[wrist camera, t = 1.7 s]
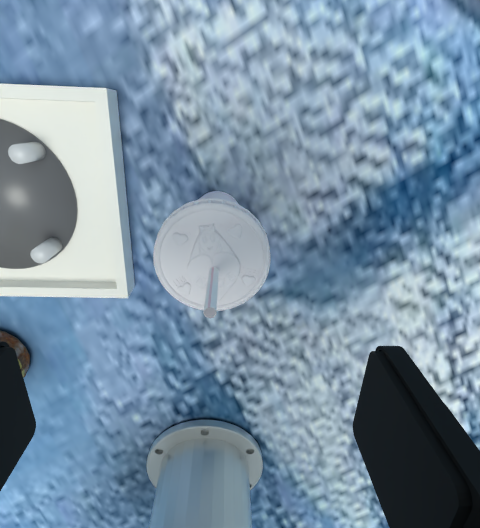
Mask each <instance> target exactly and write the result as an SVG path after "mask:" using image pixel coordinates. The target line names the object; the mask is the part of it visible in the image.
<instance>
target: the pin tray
mask: <svg viewBox="0 0 480 528" xmlns="http://www.w3.org/2000/svg"><path fill="white" fill-rule="evenodd" d="M134 287H135V280H134V270H133V259H132V248H131V237H130V227H129V216H128V205H127V195H126V184H125V173H124V163H123V152H122V141H121V130H120V120H119V109H118V98H117V91H116V90H112V89H108V88H91V87H67V86H44V85H21V84H0V296H33V297H91V298H128V297H129V296H130V294H131V292H132V290H133V288H134Z"/></svg>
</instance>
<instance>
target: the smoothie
mask: <svg viewBox="0 0 480 528" xmlns="http://www.w3.org/2000/svg"><path fill="white" fill-rule="evenodd" d="M153 259H154V266H155V270H156V274H157V276H158V278H159V280H160V282H161V284H162V285H163V287H164V288H165V289H166V290H167V292H169V293H170V294H171V295H172V296H173V297H174V298H175V299H177V300H178V301H180V302H181V303H183V304H185V305H187V306H189V307H192V308H195V309H199V310H204V312H203V313H204V316H205V317H207V318H213V317H215V316H216V313H217V311H222V310H227V309H231V308H234V307H237V306H239V305H241V304H243V303H244V302H246V301H248V300H249V299H250V298H251V297H253V296H254V295H255V294H256V293H257V292H258V291H259V289H260V288H261V287H262V285H263V283H264V282H265V280H266V277H267V275H268V272H269V267H270V246H269V242H268V238H267V234H266V232H265V230H264V228H263V227H262V225H261V223H260V222H259V220H258V219H257V218H256V217H255V216H254V215H253V214H252V213H251V212H250V211H249V210H247V209H245V208H244V207H242V206H240V205H239V204H238V202H237V201H236V200H235V199H234V198H233V197H232V196H231V195H229V194H228V193H225V192H222V191H212V192H209V193H206V194H205V195H203V196H202V197H201V198H199V199H198V200H196V201H192V202H188V203H186V204H185V205H183V206H181V207H180V208H178V209H176V210H175V211H174V212H173V213H172V214H171V215H170V216H169V217H168V218H167V219H166V220H165V221H164V223H163V225H162V227H161V229H160V231H159V233H158V235H157V239H156V242H155V246H154V252H153Z"/></svg>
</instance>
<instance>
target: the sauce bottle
mask: <svg viewBox="0 0 480 528" xmlns="http://www.w3.org/2000/svg"><path fill="white" fill-rule="evenodd" d="M0 341H3V342H6V343H8V344H9V346H10V347H12V348H14V349H15V351H16V354H17V358H18V361H19V365H20V369H21V372H22V376H23V377H25V375H26V372H27V370H28V368H29V364H30V355H29V353H28V350H27V349H26V347H25V346H24V345H23V344H22V343H21V342H20V340H18V339H17V338H16V337H14V336H13V335H10V334H8V333H7V332H4V331H0Z"/></svg>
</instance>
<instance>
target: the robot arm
mask: <svg viewBox="0 0 480 528" xmlns="http://www.w3.org/2000/svg"><path fill="white" fill-rule="evenodd" d="M35 428H36V421H35V418H34V414H33V411H32V407H31V404H30V400H29V397H28V393H27V390H26V386H25V383H24V379H23V376H22V372H21V369H20V365H19V361H18V358H17V354H16V351H15V349H14V348H12V347H10V346H9V344H8V343H6V342H3V341H0V491H1V489H2V487H3V486H4V484H5V482H6V481H7V479H8V477H9V476H10V474H11V472H12V471H13V469H14V467H15V466H16V464H17V462H18V461H19V459H20V457H21V456H22V454H23V452H24V451H25V449H26V447H27V446H28V444H29V442H30V441H31V439H32V437H33V435H34V432H35ZM353 432H354V436H355V439H356V442H357V444H358V447H359V450H360V452H361V455H362V457H363V460H364V463H365V465H366V468H367V470H368V473H369V476H370V478H371V481H372V483H373V486H374V489H375V491H376V494H377V496H378V499H379V502H380V504H381V507H382V509H383V512H384V514H385V517H386V520H387V522H388V525H389V527H390V528H480V451H479V449H478V448H477V447H476V445H475V444H474V443H473V441H472V440H471V439H470V437H469V436H468V435H467V433H466V432H465V430H464V429H463V428H462V426H461V425H460V424H459V422H458V421H457V420H456V418H455V417H454V415H453V414H452V413H451V411H450V410H449V409H448V407H447V406H446V405H445V404H444V403H443V402H442V400H441V399H440V397H439V396H438V395H437V393H436V392H435V391H434V389H433V388H432V387H431V385H430V384H429V382H428V381H427V380H426V378H425V377H424V376H423V374H422V373H421V372H420V370H419V369H418V367H417V366H416V365H415V363H414V362H413V361H412V359H411V358H410V357H409V355H408V354H407V352H406V351H405V350H404V349H403V348H402V347H400V346H378V347H377V348H376V351H372V352H371V353H370V355H369V358H368V362H367V367H366V371H365V375H364V379H363V383H362V388H361V392H360V396H359V400H358V404H357V409H356V413H355V417H354V421H353ZM146 468H147V474H148V477H149V479H150V481H151V482H152V484H153V485H154V487H155V488H156V492H155V498H154V503H153V508H152V513H151V518H150V523H149V528H252V516H251V499H250V490H251V489H253V487H254V486H255V485H256V484H257V483H258V481H259V479H260V477H261V474H262V470H263V461H262V454H261V449H260V447H259V445H258V443H257V442H256V441H255V439H254V438H253V437H252V436H251V435H250V434H248V433H247V432H246V431H245V430H243V429H241V428H239V427H237V426H235V425H232V424H229V423H227V422H222V421H217V420H193V421H188V422H184V423H180V424H178V425H175V426H173V427H171V428H169V429H168V430H166V431H164V432H163V433H162V434H161V435H159V436H158V437H157V438H156V439H155V441H154V442H153V444H152V445H151V447H150V450H149V453H148V458H147V463H146Z"/></svg>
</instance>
